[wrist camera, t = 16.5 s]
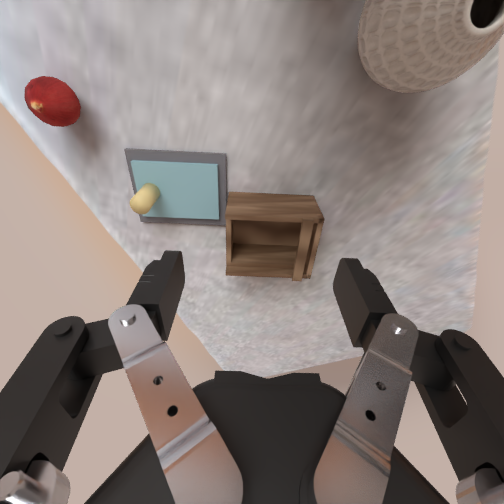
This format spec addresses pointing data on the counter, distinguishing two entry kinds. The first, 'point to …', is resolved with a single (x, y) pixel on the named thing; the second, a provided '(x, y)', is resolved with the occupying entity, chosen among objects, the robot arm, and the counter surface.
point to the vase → (426, 40)
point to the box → (272, 235)
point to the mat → (186, 158)
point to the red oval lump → (52, 101)
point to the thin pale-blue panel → (176, 189)
